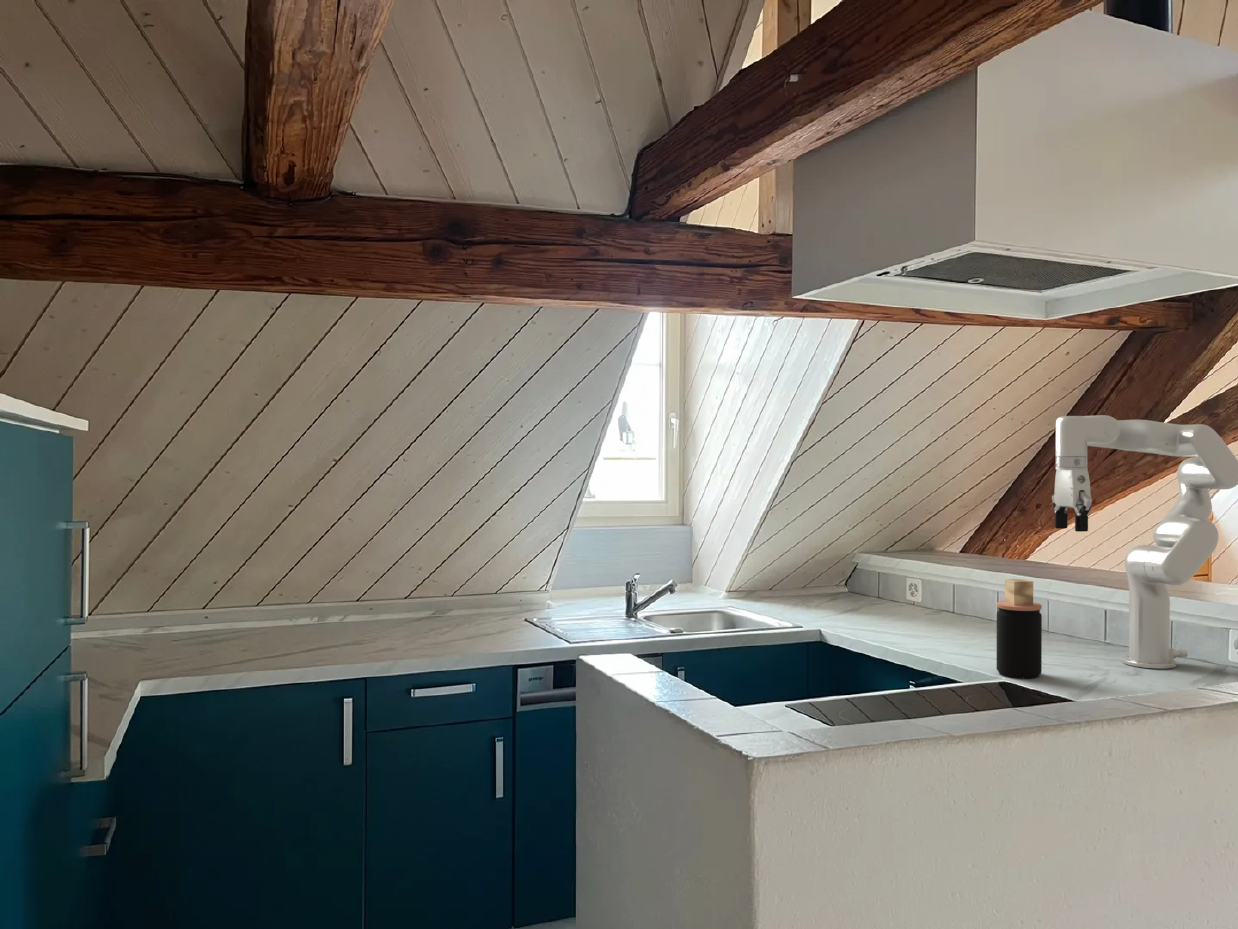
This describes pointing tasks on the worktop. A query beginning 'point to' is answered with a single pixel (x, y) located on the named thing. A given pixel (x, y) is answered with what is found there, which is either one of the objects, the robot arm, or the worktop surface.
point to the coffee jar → (1019, 640)
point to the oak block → (1018, 592)
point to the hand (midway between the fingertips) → (1071, 529)
